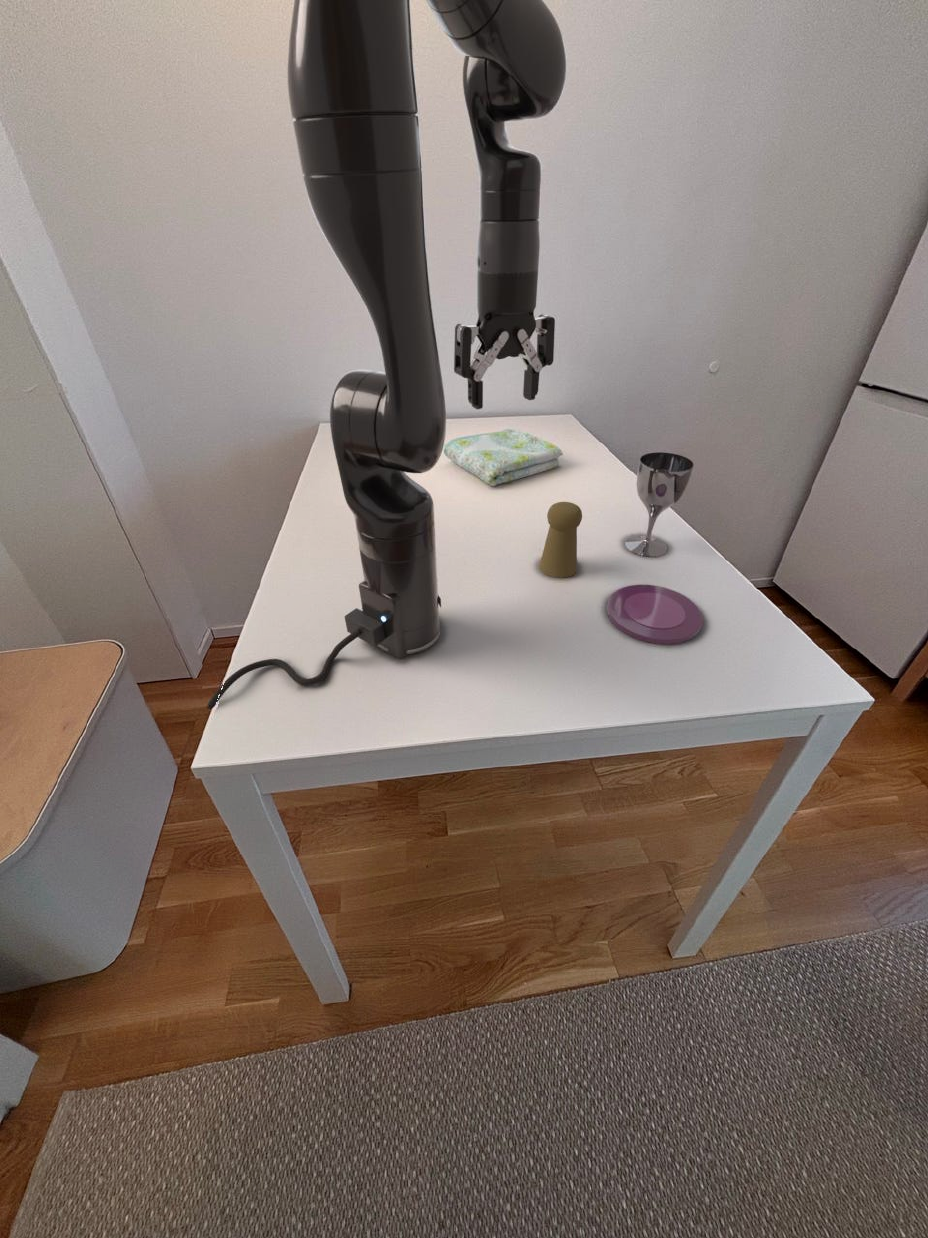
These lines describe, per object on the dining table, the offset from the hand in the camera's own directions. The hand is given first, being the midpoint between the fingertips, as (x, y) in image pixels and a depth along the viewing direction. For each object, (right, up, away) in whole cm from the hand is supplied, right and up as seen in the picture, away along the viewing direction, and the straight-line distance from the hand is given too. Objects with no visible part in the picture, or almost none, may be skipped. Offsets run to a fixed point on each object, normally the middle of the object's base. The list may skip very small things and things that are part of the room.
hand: (503, 403), depth 74 cm
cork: (+10, -23, +10) cm, 27 cm away
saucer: (+22, -30, 0) cm, 37 cm away
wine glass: (+26, -18, +16) cm, 35 cm away
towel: (+3, +4, +44) cm, 45 cm away
